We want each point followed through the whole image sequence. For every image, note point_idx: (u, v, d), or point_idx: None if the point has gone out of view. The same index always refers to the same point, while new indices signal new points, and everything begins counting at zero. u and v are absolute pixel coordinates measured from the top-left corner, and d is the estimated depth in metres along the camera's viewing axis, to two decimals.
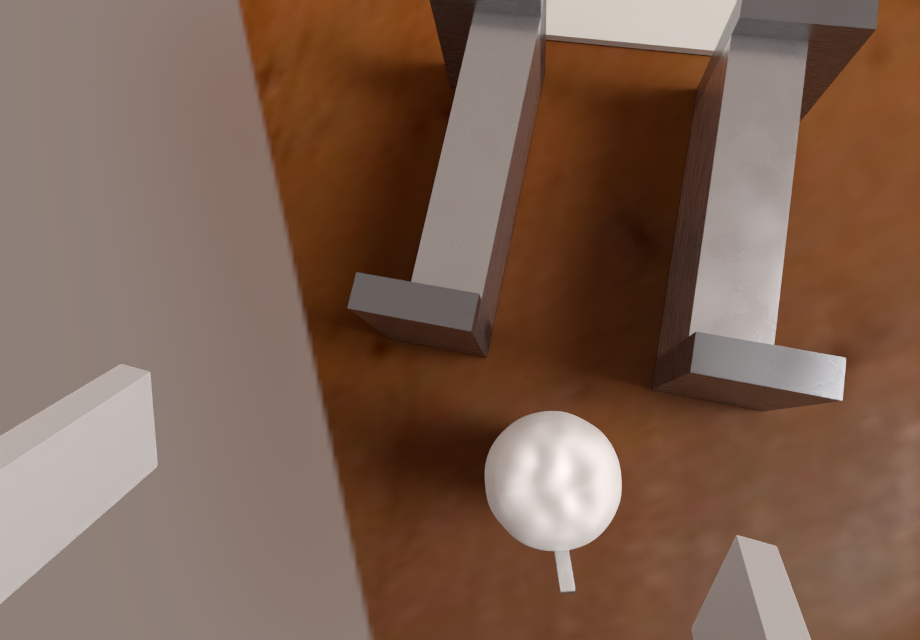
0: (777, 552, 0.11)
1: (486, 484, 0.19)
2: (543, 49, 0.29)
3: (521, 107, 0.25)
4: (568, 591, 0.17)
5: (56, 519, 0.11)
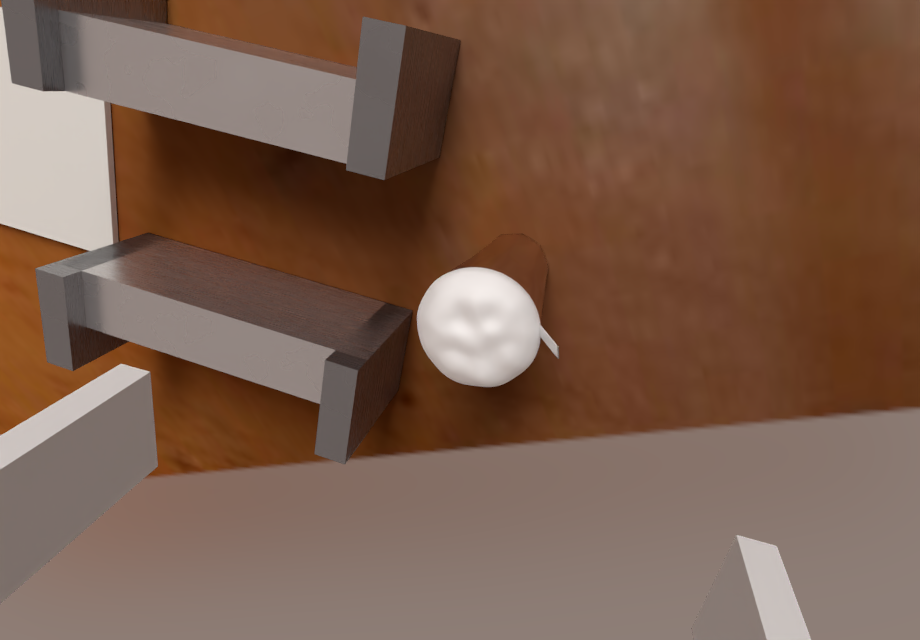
0: (777, 552, 0.11)
1: (480, 386, 0.21)
2: (120, 247, 0.30)
3: (164, 296, 0.26)
4: (557, 352, 0.18)
5: (56, 519, 0.11)
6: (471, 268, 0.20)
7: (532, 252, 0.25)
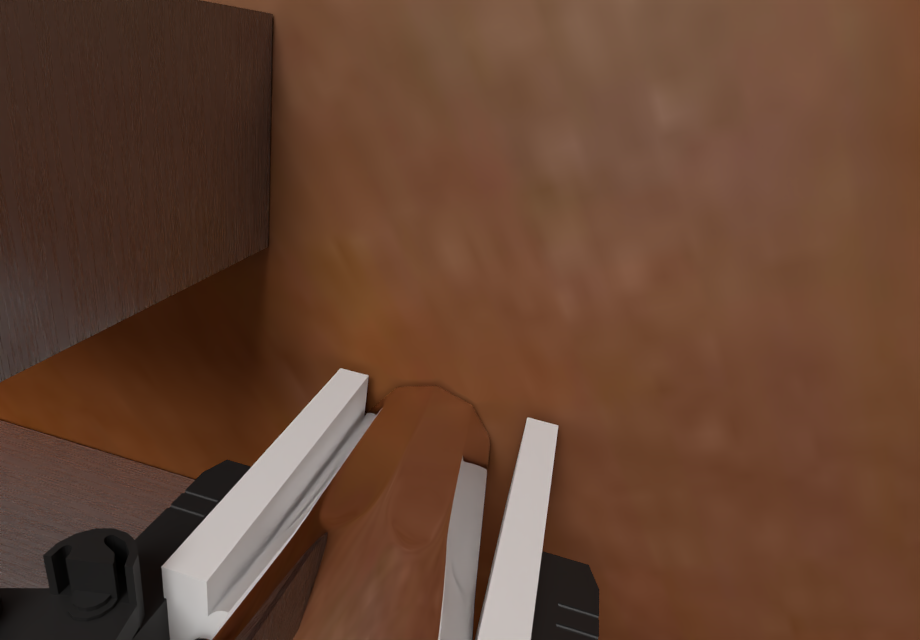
0: (556, 429, 0.13)
1: None
2: None
3: None
4: None
5: None
6: None
7: (451, 449, 0.12)
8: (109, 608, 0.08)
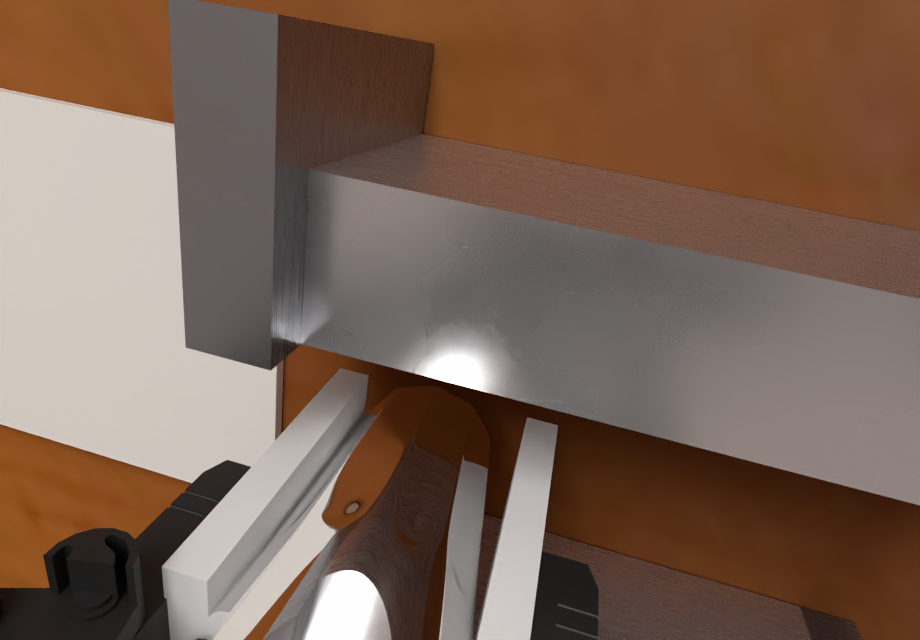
0: (556, 429, 0.13)
1: None
2: None
3: None
4: None
5: None
6: None
7: (452, 449, 0.12)
8: (110, 608, 0.08)
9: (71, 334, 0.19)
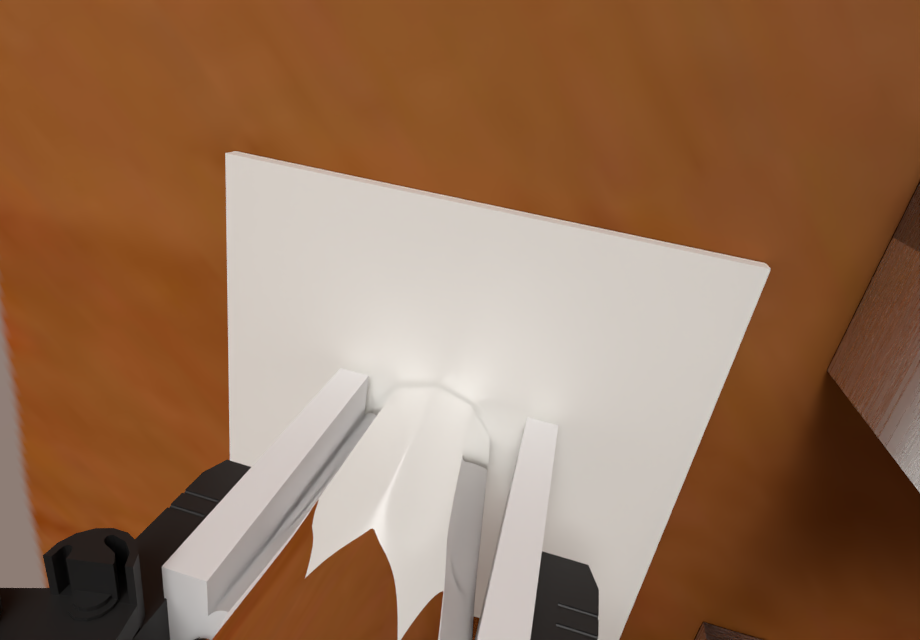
0: (556, 429, 0.13)
1: None
2: None
3: None
4: None
5: None
6: None
7: (451, 449, 0.12)
8: (109, 608, 0.08)
9: None
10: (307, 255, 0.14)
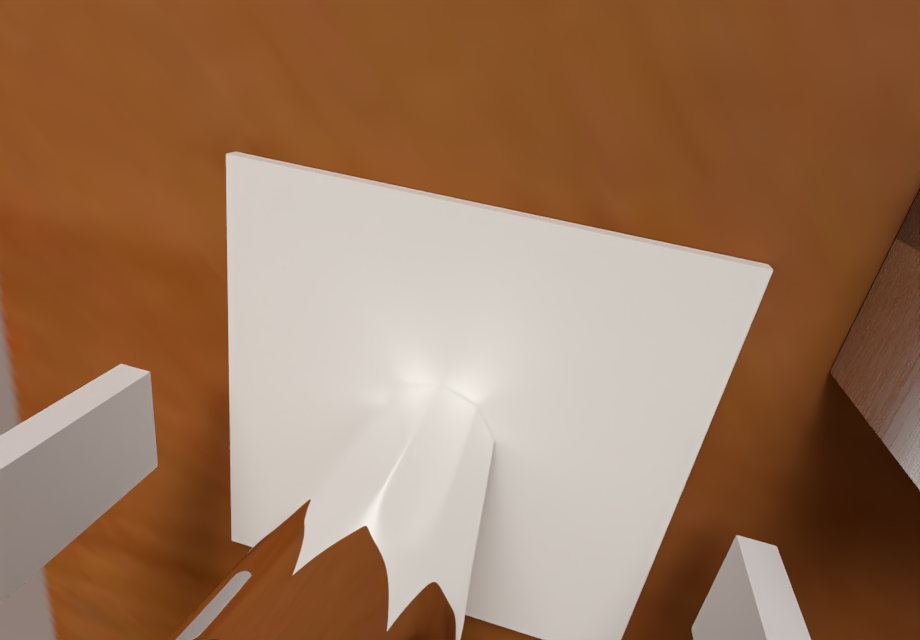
0: (777, 553, 0.11)
1: None
2: None
3: None
4: None
5: (56, 519, 0.11)
6: None
7: (452, 449, 0.12)
8: None
9: None
10: (307, 256, 0.14)
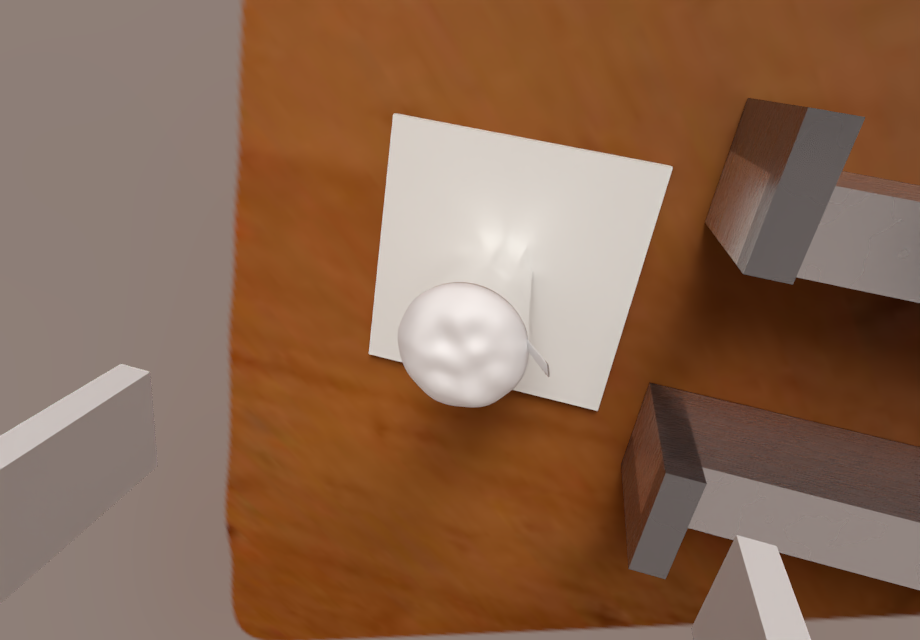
0: (777, 552, 0.11)
1: None
2: (668, 414, 0.25)
3: (820, 496, 0.22)
4: (547, 370, 0.17)
5: (56, 520, 0.11)
6: (452, 284, 0.19)
7: (515, 260, 0.24)
8: None
9: None
10: (433, 169, 0.26)
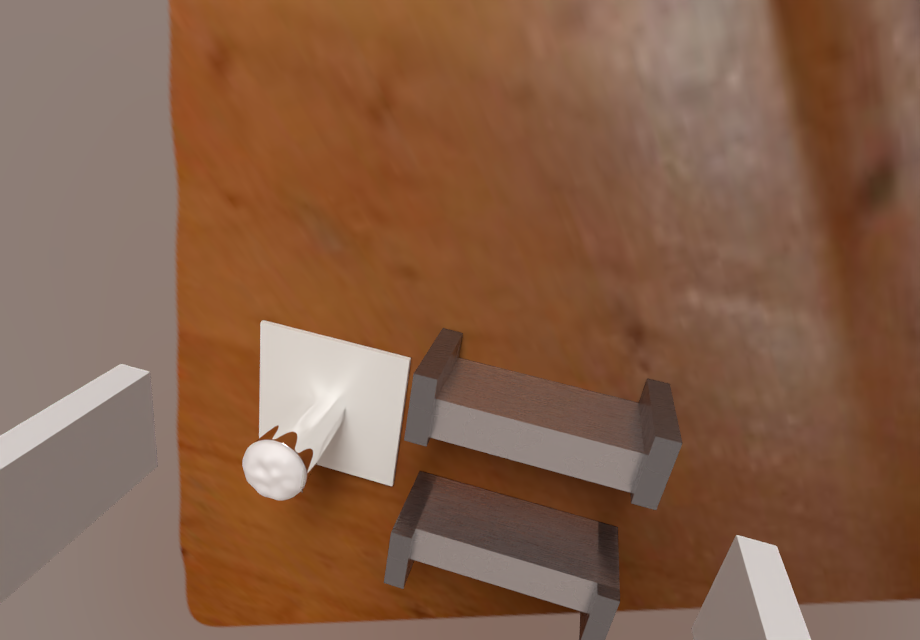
0: (777, 552, 0.11)
1: None
2: (417, 494, 0.44)
3: (475, 545, 0.40)
4: (301, 489, 0.36)
5: (56, 519, 0.11)
6: (265, 441, 0.38)
7: (325, 409, 0.43)
8: None
9: None
10: (285, 351, 0.45)
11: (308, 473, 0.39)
